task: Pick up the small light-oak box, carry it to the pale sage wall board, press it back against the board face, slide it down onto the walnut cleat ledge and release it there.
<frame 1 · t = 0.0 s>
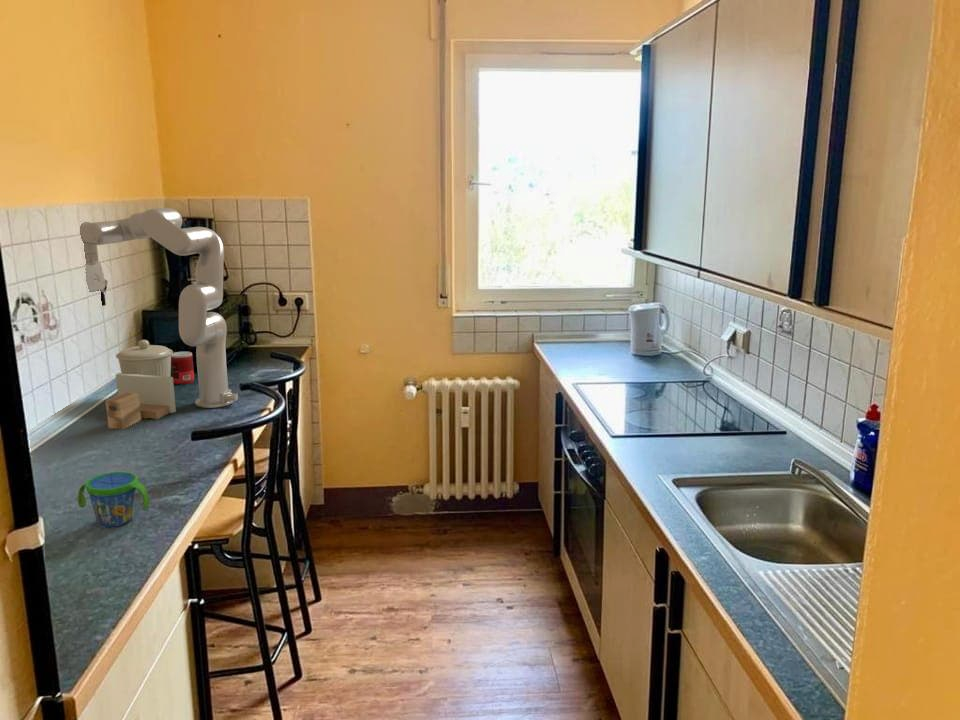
hand: (91, 307, 265), 31 cm above the counter, tool pointing down, fingers open, 9 cm apart
canister: (149, 399, 268), on the counter
canned food: (183, 382, 289), on the counter
oak box: (125, 424, 241), on the counter
snack cup: (116, 522, 175), on the counter
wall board: (147, 410, 255), on the counter
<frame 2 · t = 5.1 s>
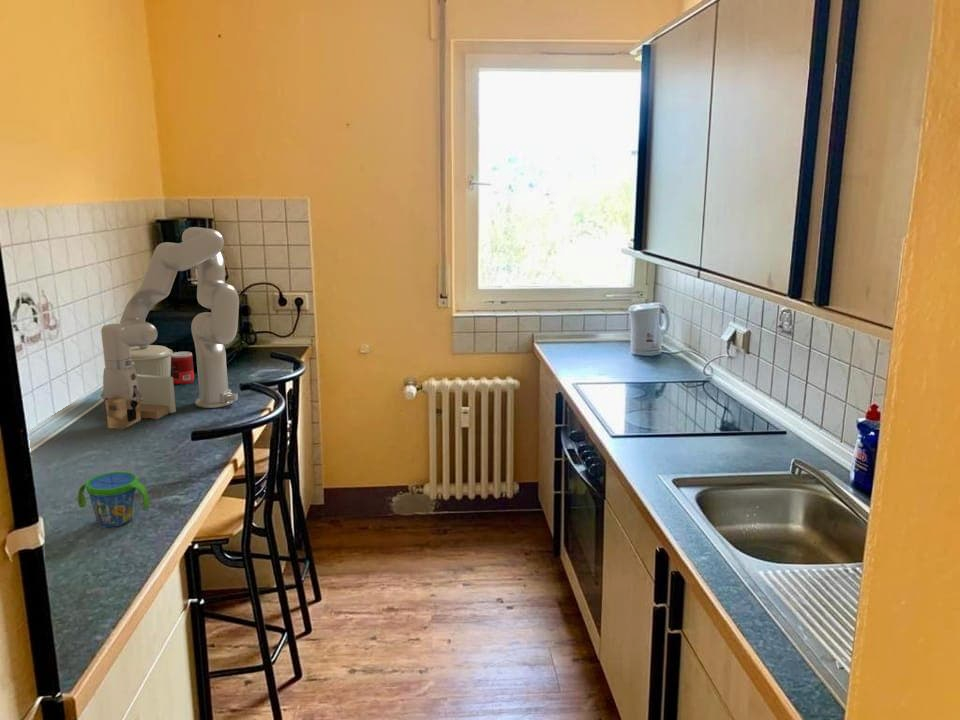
hand: (124, 419, 240), 2 cm above the counter, tool pointing down, fingers closed on oak box, 5 cm apart
oak box: (124, 424, 241), on the counter, touching gripper
everything else where it was.
when the fingers open (5 cm above the counter, at t = 9.8 s): oak box stays where it is, resting on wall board.
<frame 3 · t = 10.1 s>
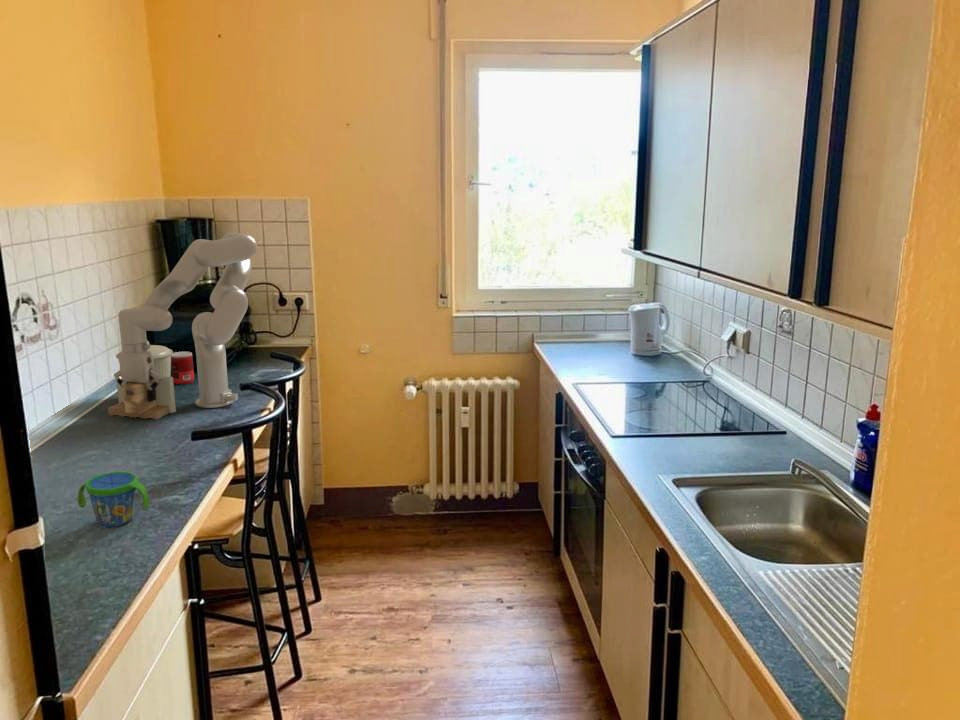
hand: (140, 399, 247), 6 cm above the counter, tool pointing down, fingers open, 8 cm apart
oak box: (141, 408, 248), point 2 cm above the counter, touching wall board
everything else where it was.
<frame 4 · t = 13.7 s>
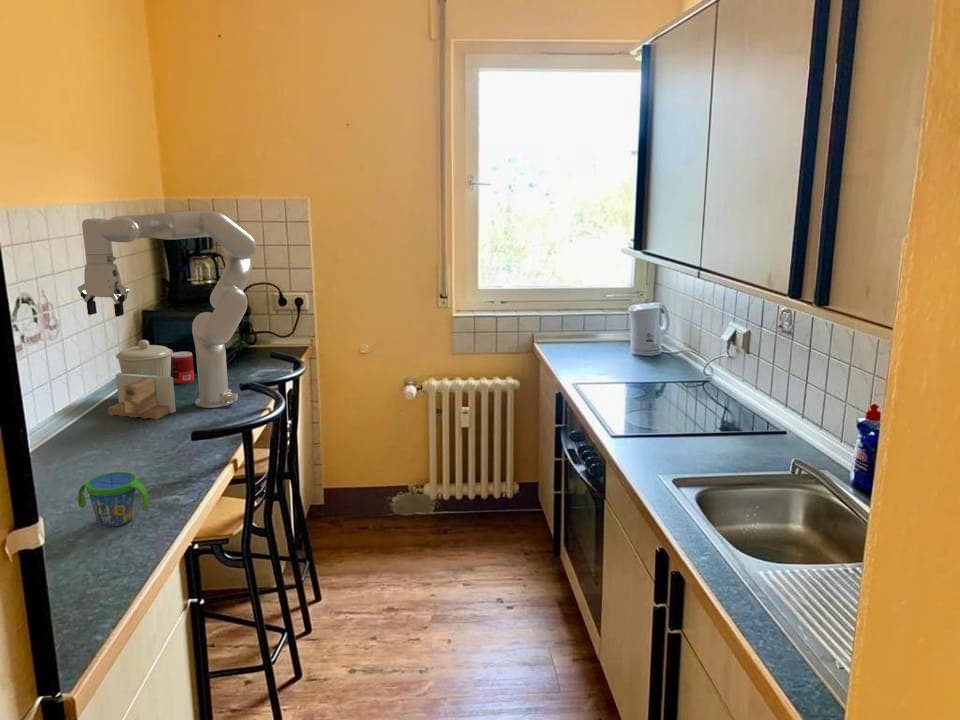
hand: (105, 314, 236), 34 cm above the counter, tool pointing down, fingers open, 9 cm apart
nothing on the counter moved.
at the end: oak box inside the target area (2.1 cm from its centre), point 2.5 cm above the counter; oak box touching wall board; oak box tilted 0° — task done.
